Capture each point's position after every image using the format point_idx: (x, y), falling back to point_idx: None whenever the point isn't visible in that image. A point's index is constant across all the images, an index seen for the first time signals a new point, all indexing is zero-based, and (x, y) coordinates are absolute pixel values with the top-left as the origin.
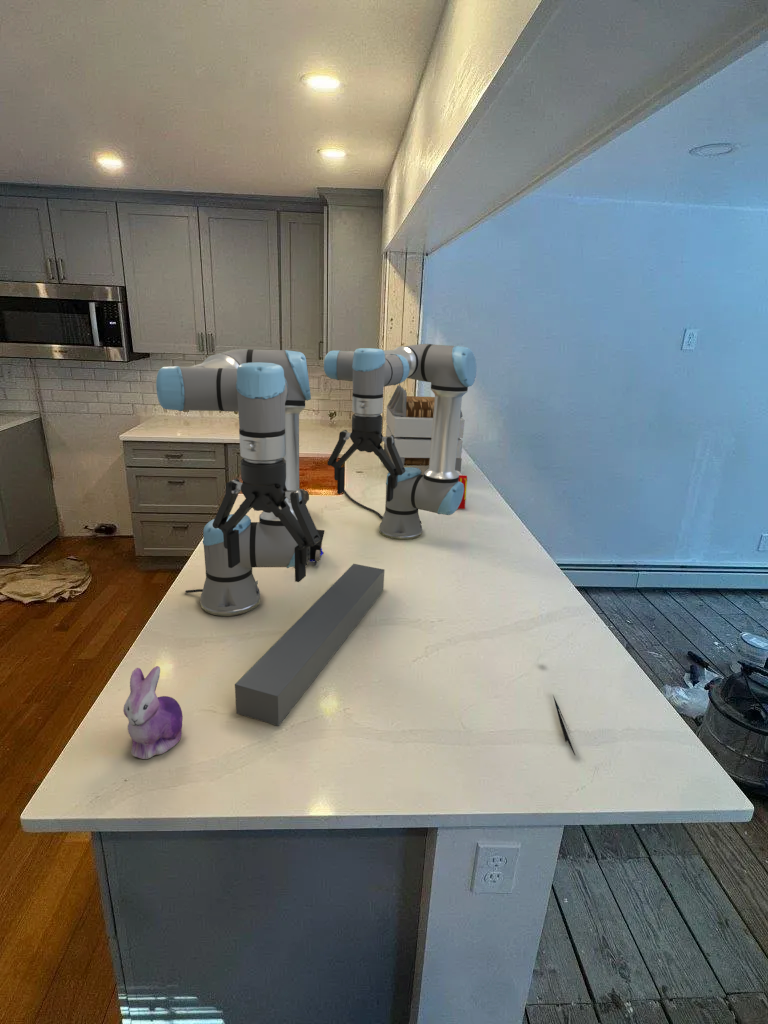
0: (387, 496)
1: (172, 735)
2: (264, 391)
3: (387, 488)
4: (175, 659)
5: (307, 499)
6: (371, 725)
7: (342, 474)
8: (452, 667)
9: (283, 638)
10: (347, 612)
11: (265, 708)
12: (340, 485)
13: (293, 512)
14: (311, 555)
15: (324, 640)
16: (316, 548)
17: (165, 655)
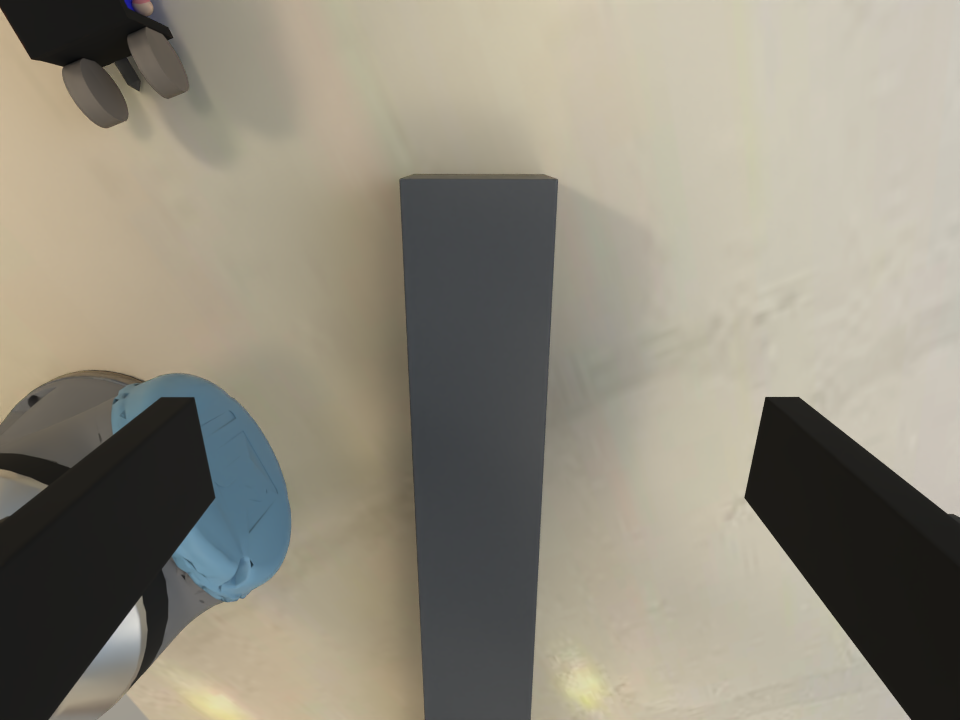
0: (776, 532)
1: None
2: None
3: (828, 607)
4: (214, 682)
5: None
6: (677, 704)
7: (51, 613)
8: None
9: (432, 692)
10: (537, 542)
11: None
12: (161, 553)
13: (75, 684)
14: (121, 49)
15: (532, 668)
16: (118, 31)
17: (184, 679)
